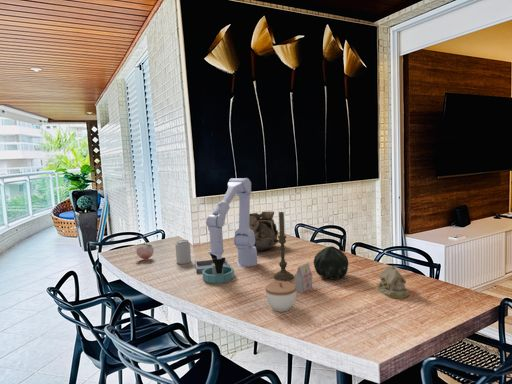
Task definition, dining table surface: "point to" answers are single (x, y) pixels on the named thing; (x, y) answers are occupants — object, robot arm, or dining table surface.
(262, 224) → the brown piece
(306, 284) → the milk carton
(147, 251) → the decorative fruit
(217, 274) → the gray rectangular block
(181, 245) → the can
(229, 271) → the bowl
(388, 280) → the ceramic model
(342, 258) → the squash
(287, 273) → the candlestick holder
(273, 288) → the lidded jar
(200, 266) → the parts tray
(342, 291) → the dining table surface
